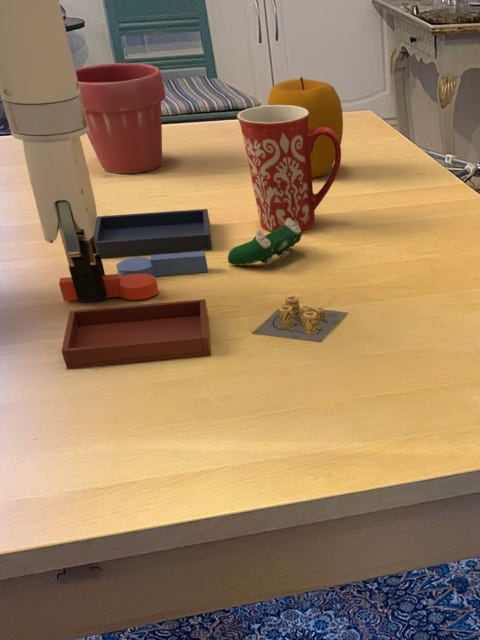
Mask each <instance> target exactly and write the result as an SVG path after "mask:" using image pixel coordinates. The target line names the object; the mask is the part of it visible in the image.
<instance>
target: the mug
mask: <svg viewBox="0 0 480 640" xmlns="http://www.w3.org/2000/svg"><path fill="white" fill-rule="evenodd" d="M308 117H309V112H308V110H307V109H305V108H302V107H298V106H292V105H268V104H267V105H261V106H254V107H250V108H245V109H243V110H241V111H240V112H238V113H237V115H236V118H237V120H238V122H239V126H240V130H241V134H242V139H243V140H242V141H243V145H244V149H245V154H246V159H247V164H248V169H249V174H250V178H251V184H252V188H253V194H254V198H255V202H256V208H257V214H258V218H259V222H260V226H261V228H262V229H263V230H265V231H267V232H270V233H272V232H273V231H274V230H276V229H279V228H282V227H283V225H284V223H286V220H287V218H290V219H292V220H293V221H294V222H295V223H296V225H297V226H299V228H300V229H301V231H302V232H303V231H305V230H307V229H310V228H311V227H313V226H314V225H315V223H316V214H315V211H316V209H317V208H318V206H319V205H320V204H321V202H322V201H323V199H324V198H325V197H326V195H327V194H328V193H329V190H330V189H331V187H332V185H333V184H334V181H335V179H336V178H337V174H338V172H339V171H340V166H341V162H342V147H341V145H340V141H339V138H338V136H337V135H336V133H335V132H334V131H333V130H331V129H330V128H327V127H317V128H314V129H312V130H309V128H308ZM320 135H325V136H328V137H329V138H331V140H332V141H333V144H334V147H335V161H334V163H333V166H332V168H331V170H330V173H329V175H328V177H327V179H326V181H325V182H324V184H323V186H322V187H321V188H320V190H319V191H318V192H317V193H314V190H313V188H314V187H313V186H314V185H313V178H312V172H311V157H310V153H311V152H312V150H313V146H314V142H315V140H316V139H317V137H318V136H320Z"/></svg>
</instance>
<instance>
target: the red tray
mask: <svg viewBox="0 0 480 640" xmlns="http://www.w3.org/2000/svg"><path fill="white" fill-rule="evenodd" d="M210 336H211V335H210V320H209V313H208V306H207V301H206V299H205V298H202V299H201V298H200V299H190V300H178V301H166V302H155V303H143V304H131V305H119V306H110V307H109V306H108V307H98V308H97V307H96V308H86V309H84V308H83V309H74V310H69V313H68V317H67V322H66V328H65V332H64V338H63V342H62V346H61V355H62V357H63V360H64V361H63V362H64V364H65V368H66V369H67V370H69V369H80V368H87V367H88V368H89V367H91V368H92V367H99V366H100V367H101V366H111V365H121V364H131V363H143V362H153V361H162V360H163V361H164V360H173V359H184V358H194V357H205V356H211V355H212V351H211V338H210Z"/></svg>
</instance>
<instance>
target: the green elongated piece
mask: <svg viewBox="0 0 480 640" xmlns="http://www.w3.org/2000/svg"><path fill="white" fill-rule="evenodd" d="M302 236H303V230H302V231H301V229H300V228H299V226H297V225H296V223H295V222H294V221H293V220H292V219H290V218H287V220H286V223H284V225H283V227H282V228H279V229H276V230H274V231H273V232H270V233H267V234H265V233H264V232H263V231H261V230H257V231H256V232H255V236H254V237H253V238H252V240H250V241H247V242H245V243H243V244H240V245H237V246H235V247H233V248H232V249H230V251H229V252H228V255H227V261H228V263H229V264H231V265H233V266H245V265H252V264H255V263H258V262H261V263H262V264H265V265H267V266H269V265H271V264H272V263H273V261H274V259H273V256H274V255H277V256H279V257H281V258H285V257H287V256H288V255H289V253H290V252H289V251H288V250H289V248H292V247H294V246H295V245H296V244H298V243H299V242H300V241H301V239H302Z"/></svg>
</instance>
